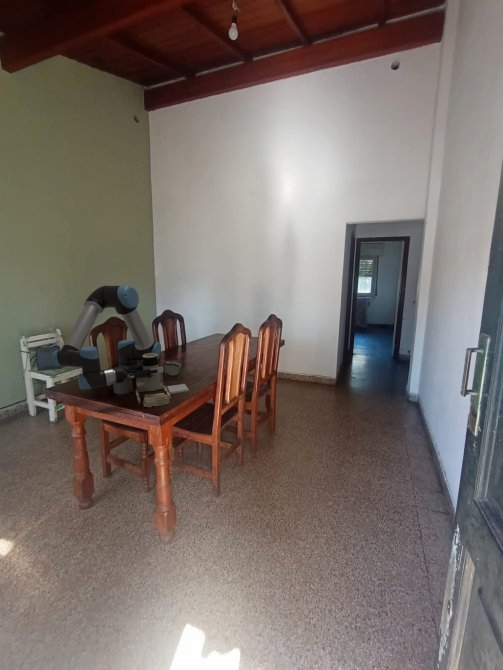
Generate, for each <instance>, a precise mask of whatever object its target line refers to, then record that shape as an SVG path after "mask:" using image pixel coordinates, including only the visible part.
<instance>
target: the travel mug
mask: <svg viewBox="0 0 503 670" xmlns="http://www.w3.org/2000/svg"><path fill="white" fill-rule="evenodd" d="M157 356H158V354H156V353H148V354H144V355H143V356H142V357H143V361H141V362H142V363H141V364H143V370H150V369H153V368H158V367H160V361H159V359H157ZM144 386H145V390H147V391H146V392H153V391H159V390H161V389H160V388H161V385H160V373H156V374H151V377H150V376H149V377H144ZM158 389H159V390H158Z"/></svg>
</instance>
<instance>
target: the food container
mask: <svg viewBox="0 0 503 670" xmlns="http://www.w3.org/2000/svg"><path fill="white" fill-rule="evenodd" d="M163 366H164V367H163V369H164V373H165V379H171V380H177V381H179V380H181V367H183V366H182V362H181V361H179V360H168V361H164V362H163Z"/></svg>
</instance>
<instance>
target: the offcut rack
mask: <svg viewBox="0 0 503 670" xmlns="http://www.w3.org/2000/svg"><path fill="white" fill-rule="evenodd" d="M163 377H164V376H163V372H161V373H160V385H161V388H160V389H158V390H157V391H159V390H164V392H159V393H153V394H152V393H150V394H144V398H143V401H142V402H141V398H140V393H145V391H146V392H148V391H147V390H145V386H144V377H143V378H136V379H135V381H136V382H135V383H136V390H135V396H136V400H137V403H138V405H142V404H143V408H144V407H148V408H152V406H154V407H158V406H164V405H169V404H170V400H171V399H172V394H170V392H169V391H168V389H167V386H166V385H164V378H163ZM138 392H139V393H138Z"/></svg>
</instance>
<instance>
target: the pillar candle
mask: <svg viewBox="0 0 503 670" xmlns="http://www.w3.org/2000/svg"><path fill="white" fill-rule="evenodd" d="M118 367H119V366H116V367H113V368H112V369H114V368H118ZM120 367H121V368H122V369H123V368H126V367H129V366H120ZM112 386H113V387H112V388H113V393H116V394H127V395H129V393H130V394H132V393H133V391H134V389H133V379H132V380H130V378H125V379H124V382H122V383H115V384H112ZM131 392H132V393H131Z"/></svg>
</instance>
